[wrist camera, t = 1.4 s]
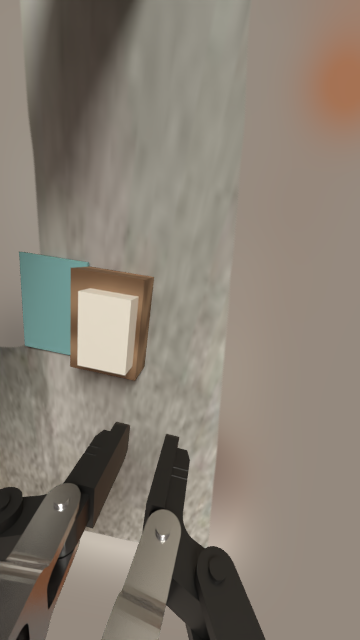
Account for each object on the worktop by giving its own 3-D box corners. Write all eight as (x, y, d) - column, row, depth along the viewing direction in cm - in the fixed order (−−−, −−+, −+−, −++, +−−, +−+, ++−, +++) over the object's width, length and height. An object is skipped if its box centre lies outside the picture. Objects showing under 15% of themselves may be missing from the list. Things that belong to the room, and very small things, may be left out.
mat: (21, 251, 31) (19, 251, 31) (89, 262, 30) (87, 262, 29) (27, 344, 35) (24, 345, 35) (86, 357, 34) (85, 358, 33)
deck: (89, 266, 30) (70, 267, 26) (153, 277, 29) (144, 279, 25) (86, 354, 34) (70, 366, 30) (144, 366, 33) (134, 380, 29)
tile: (90, 288, 26) (78, 291, 24) (138, 296, 26) (131, 300, 24) (88, 356, 29) (77, 365, 27) (132, 366, 28) (125, 375, 26)
